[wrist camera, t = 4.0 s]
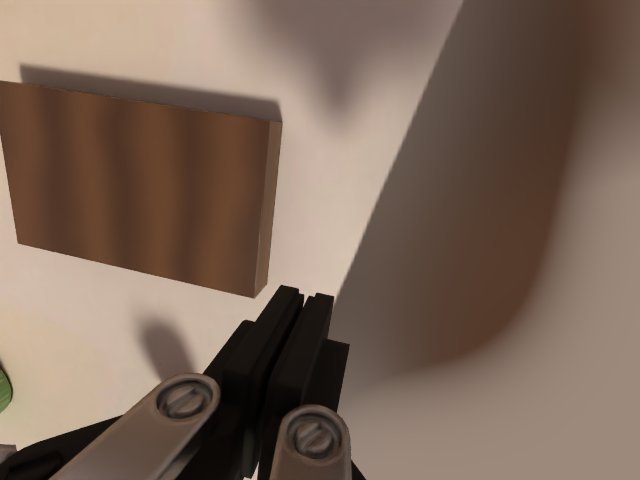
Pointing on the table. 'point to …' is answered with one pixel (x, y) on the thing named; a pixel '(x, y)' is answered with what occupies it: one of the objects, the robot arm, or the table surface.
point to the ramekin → (4, 392)
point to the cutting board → (142, 184)
